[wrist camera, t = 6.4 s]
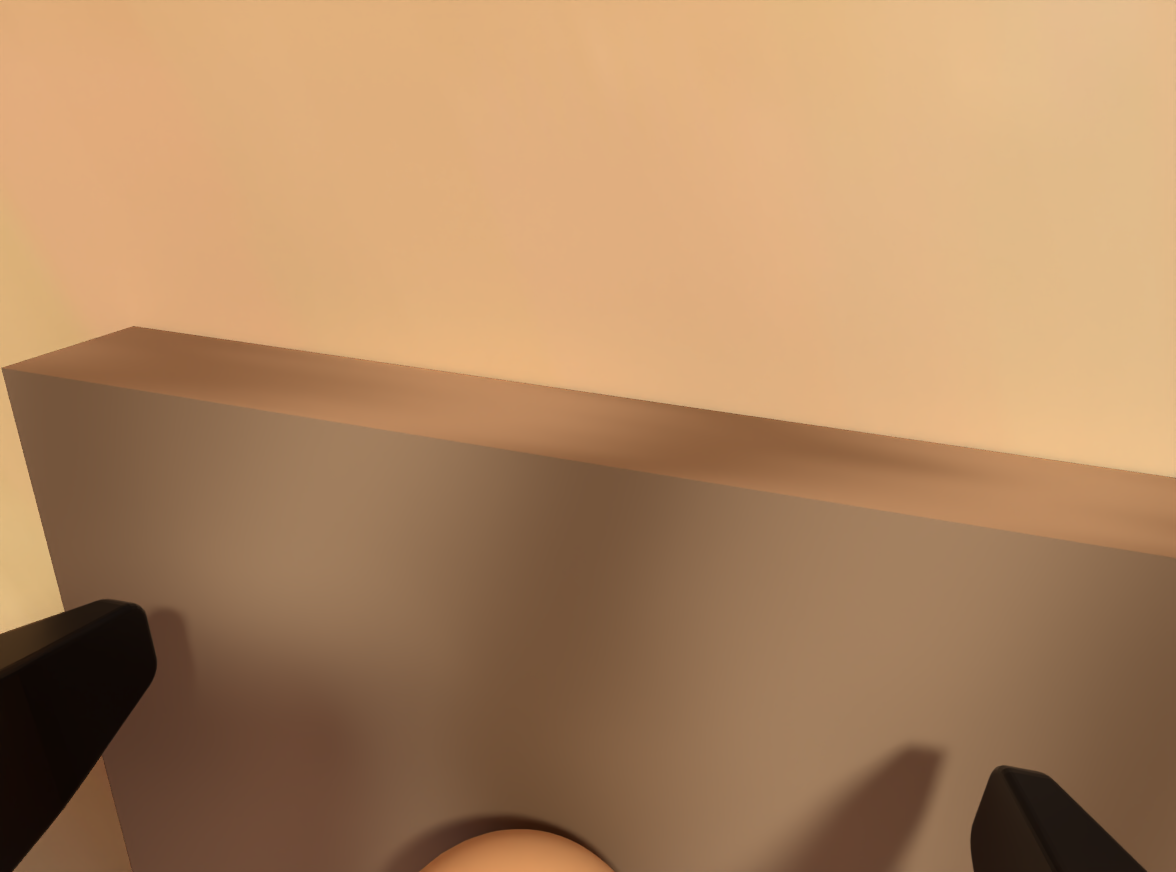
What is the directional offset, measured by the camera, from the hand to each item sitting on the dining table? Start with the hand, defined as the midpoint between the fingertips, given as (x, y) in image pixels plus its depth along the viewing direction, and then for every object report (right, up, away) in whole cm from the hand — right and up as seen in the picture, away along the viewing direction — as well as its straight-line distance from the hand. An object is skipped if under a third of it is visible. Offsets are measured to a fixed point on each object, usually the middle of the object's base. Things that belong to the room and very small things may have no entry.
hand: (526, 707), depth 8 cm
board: (0, -7, +6) cm, 9 cm away
